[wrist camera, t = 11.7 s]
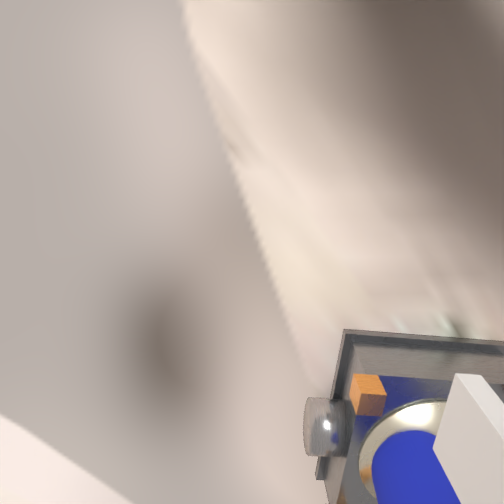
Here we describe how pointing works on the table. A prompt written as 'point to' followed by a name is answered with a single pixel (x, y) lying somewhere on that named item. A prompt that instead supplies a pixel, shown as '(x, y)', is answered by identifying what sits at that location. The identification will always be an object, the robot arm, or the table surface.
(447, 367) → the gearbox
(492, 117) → the table surface
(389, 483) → the mug
